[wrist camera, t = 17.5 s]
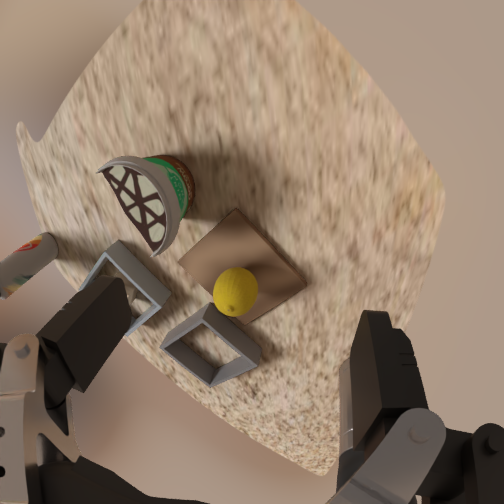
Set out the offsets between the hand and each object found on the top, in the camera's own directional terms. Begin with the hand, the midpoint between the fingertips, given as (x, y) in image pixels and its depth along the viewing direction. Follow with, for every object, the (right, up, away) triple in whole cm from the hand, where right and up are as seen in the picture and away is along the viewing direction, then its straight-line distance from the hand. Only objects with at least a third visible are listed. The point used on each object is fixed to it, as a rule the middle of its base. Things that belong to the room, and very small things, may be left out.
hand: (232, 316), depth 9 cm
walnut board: (-1, -1, +33) cm, 33 cm away
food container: (-9, +12, +28) cm, 32 cm away
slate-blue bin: (-20, -4, +38) cm, 43 cm away
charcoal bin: (-6, -13, +40) cm, 43 cm away
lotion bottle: (-38, +3, +38) cm, 54 cm away
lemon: (-1, -1, +32) cm, 32 cm away
